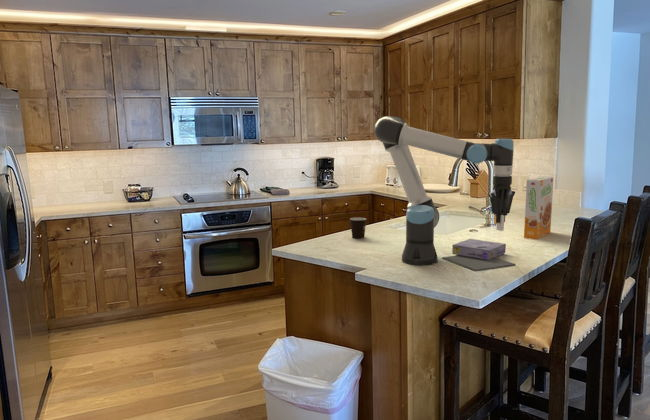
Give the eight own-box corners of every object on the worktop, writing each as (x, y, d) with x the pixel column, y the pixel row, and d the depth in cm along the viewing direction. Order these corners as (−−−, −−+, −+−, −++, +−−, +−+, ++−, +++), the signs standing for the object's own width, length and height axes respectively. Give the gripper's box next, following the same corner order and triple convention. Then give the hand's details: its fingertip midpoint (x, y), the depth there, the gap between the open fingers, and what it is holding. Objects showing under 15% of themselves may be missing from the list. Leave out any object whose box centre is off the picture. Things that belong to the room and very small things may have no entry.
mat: (475, 271, 199) (475, 269, 199) (442, 258, 219) (442, 257, 219) (515, 265, 207) (515, 263, 207) (479, 253, 227) (479, 252, 227)
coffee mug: (358, 240, 259) (358, 221, 257) (346, 237, 265) (346, 218, 264) (373, 236, 266) (373, 218, 265) (362, 234, 273) (362, 216, 271)
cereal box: (536, 239, 254) (539, 180, 249) (523, 237, 258) (526, 179, 253) (550, 232, 271) (553, 176, 266) (538, 230, 275) (541, 176, 270)
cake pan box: (506, 253, 227) (469, 247, 238) (507, 242, 226) (469, 236, 237) (490, 261, 212) (451, 254, 223) (490, 250, 211) (451, 243, 222)
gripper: (496, 176, 206) (494, 233, 209) (521, 175, 211) (518, 230, 214) (484, 175, 213) (482, 229, 216) (508, 174, 218) (505, 227, 221)
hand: (500, 230), depth 215 cm, fingers closed
